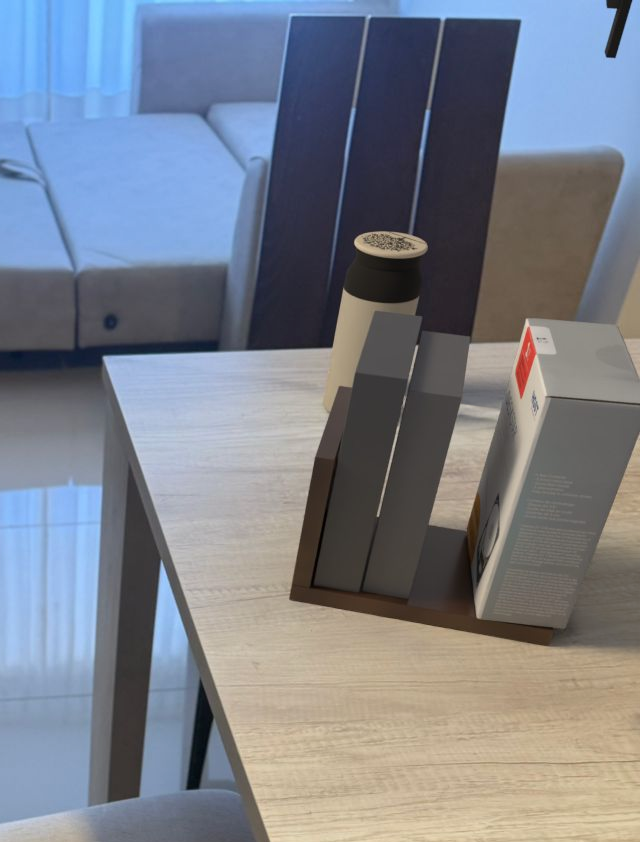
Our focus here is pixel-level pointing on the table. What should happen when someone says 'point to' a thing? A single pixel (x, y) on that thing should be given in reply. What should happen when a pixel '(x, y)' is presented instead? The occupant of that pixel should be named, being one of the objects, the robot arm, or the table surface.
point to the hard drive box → (552, 470)
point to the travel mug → (372, 297)
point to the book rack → (435, 575)
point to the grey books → (371, 449)
